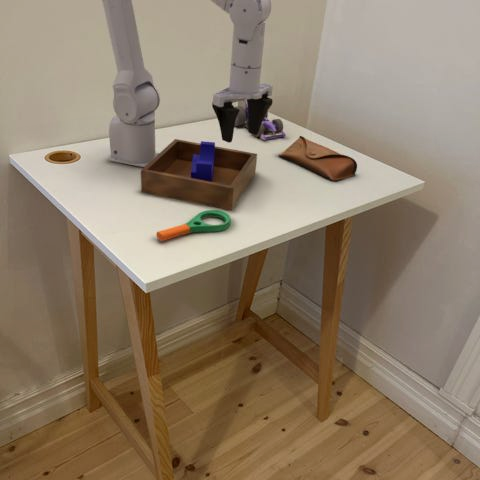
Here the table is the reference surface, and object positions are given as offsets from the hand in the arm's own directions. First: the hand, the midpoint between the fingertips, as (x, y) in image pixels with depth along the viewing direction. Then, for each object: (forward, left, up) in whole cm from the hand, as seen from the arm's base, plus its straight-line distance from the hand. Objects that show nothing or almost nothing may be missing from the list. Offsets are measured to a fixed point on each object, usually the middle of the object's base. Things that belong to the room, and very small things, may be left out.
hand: (240, 137), depth 105 cm
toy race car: (-3, +34, -10) cm, 36 cm away
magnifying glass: (-2, -23, -10) cm, 25 cm away
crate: (-7, -3, -10) cm, 12 cm away
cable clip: (-7, -3, -9) cm, 12 cm away
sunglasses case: (+15, +17, -10) cm, 25 cm away
